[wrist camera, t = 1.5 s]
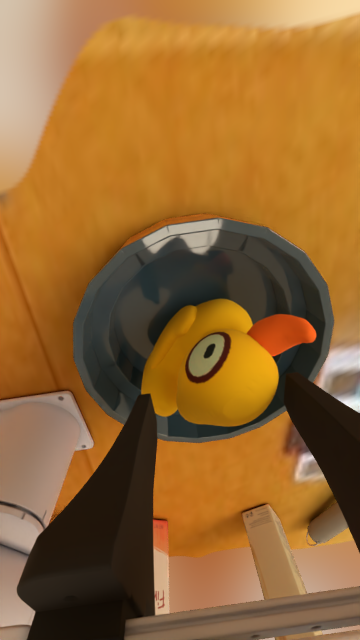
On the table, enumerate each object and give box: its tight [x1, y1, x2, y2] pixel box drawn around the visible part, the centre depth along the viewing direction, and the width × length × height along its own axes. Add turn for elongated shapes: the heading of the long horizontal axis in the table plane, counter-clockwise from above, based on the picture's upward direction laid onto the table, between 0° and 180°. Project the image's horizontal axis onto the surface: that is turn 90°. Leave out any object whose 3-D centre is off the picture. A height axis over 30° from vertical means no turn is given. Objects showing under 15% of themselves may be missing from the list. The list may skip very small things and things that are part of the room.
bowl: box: [73, 213, 334, 443], centre depth 18 cm, size 17×17×5 cm
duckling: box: [141, 299, 316, 427], centre depth 16 cm, size 11×5×10 cm, turn 133°
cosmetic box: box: [242, 504, 323, 640], centre depth 30 cm, size 6×4×12 cm
